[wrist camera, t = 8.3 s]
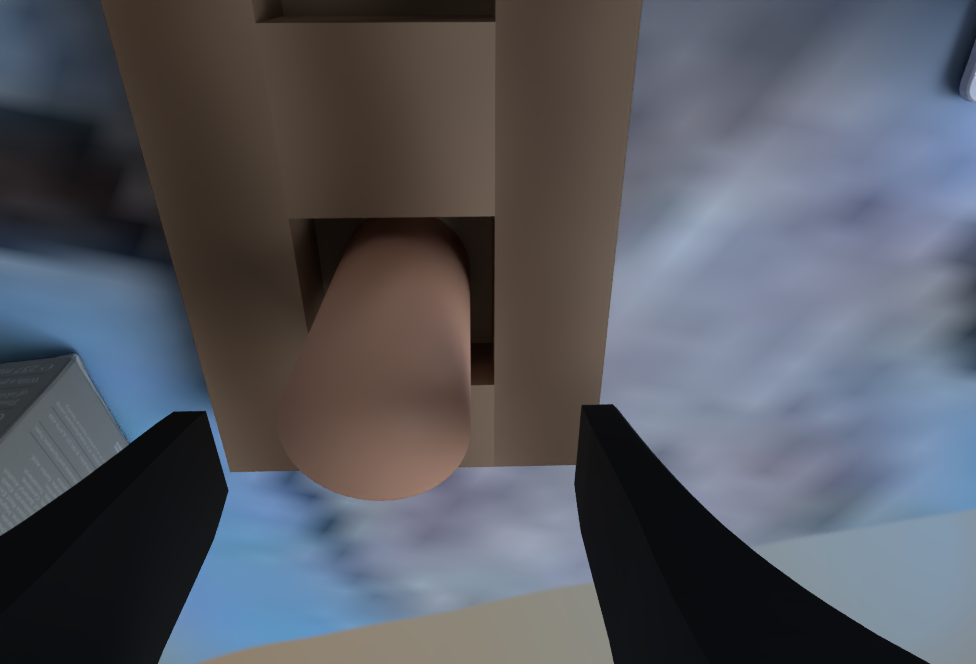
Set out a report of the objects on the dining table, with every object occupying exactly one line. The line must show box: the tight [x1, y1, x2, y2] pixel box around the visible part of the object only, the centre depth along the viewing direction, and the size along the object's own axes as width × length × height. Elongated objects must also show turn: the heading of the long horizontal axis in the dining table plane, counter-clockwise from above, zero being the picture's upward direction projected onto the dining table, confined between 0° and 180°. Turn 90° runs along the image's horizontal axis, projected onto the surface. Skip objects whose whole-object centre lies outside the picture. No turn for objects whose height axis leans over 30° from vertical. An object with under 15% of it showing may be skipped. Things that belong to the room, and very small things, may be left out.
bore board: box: [100, 0, 642, 472], centre depth 17 cm, size 12×22×3 cm, turn 0°
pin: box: [277, 217, 471, 501], centre depth 17 cm, size 4×4×8 cm
